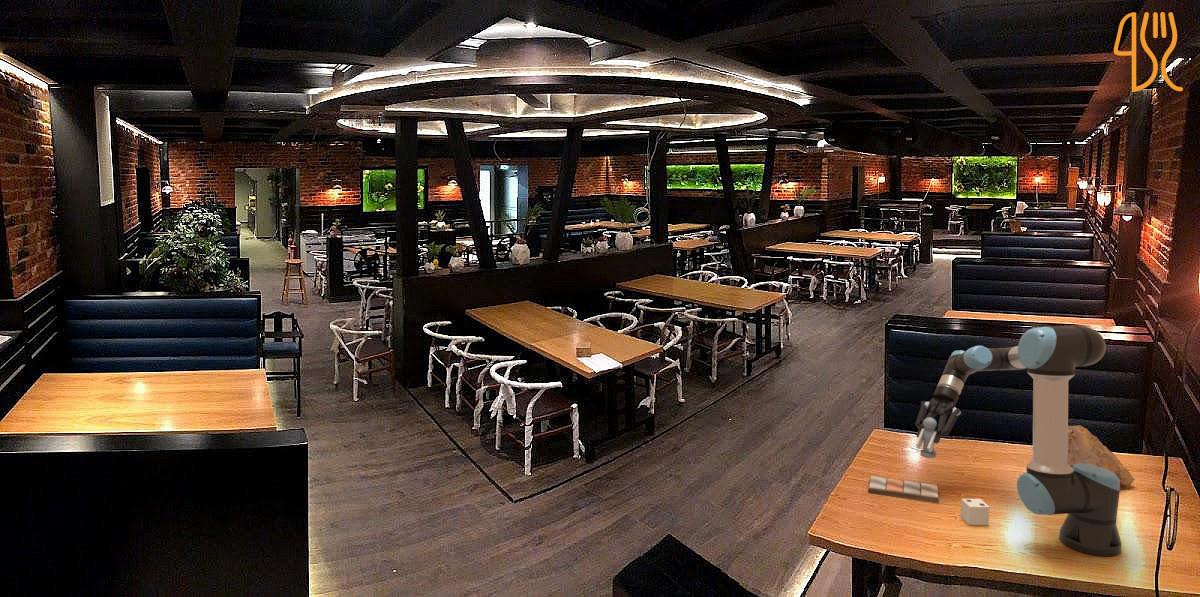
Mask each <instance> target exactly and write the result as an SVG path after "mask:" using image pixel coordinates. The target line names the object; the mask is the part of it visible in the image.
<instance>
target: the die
mask: <svg viewBox="0 0 1200 597" xmlns="http://www.w3.org/2000/svg"><path fill="white" fill-rule="evenodd" d="M960 500H961V502H960V503H961V505H960V515H959V516H960V518H961V519H962V520H963V521H964V522H965V523H966V524H967V525H968V526H989V523H990V512H991V511H990V506H989V505H988V504H987V503H986V502H985V501H984V500H983V499H982V498H961V499H960Z"/></svg>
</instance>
